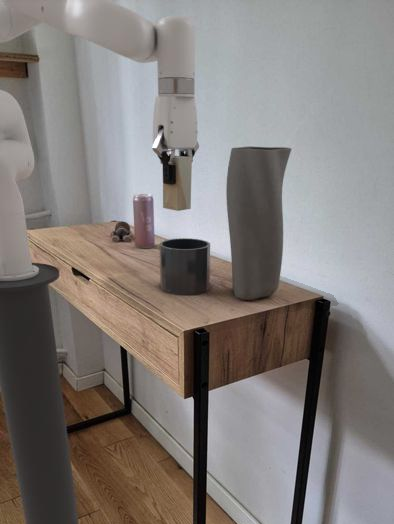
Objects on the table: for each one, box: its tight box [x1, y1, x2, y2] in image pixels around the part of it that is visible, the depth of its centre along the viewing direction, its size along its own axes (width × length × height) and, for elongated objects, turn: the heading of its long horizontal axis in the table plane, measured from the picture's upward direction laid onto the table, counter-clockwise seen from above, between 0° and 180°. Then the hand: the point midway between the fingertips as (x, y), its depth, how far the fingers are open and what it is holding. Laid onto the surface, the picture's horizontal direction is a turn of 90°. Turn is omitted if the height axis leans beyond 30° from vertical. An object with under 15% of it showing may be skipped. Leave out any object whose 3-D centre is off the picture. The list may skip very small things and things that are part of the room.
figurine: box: [108, 221, 135, 243], centre depth 156 cm, size 8×5×10 cm
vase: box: [225, 146, 292, 301], centre depth 100 cm, size 12×12×30 cm
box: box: [162, 155, 193, 212], centre depth 107 cm, size 5×4×11 cm
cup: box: [158, 237, 211, 296], centre depth 109 cm, size 11×11×10 cm
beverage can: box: [132, 193, 156, 249], centre depth 144 cm, size 6×6×15 cm
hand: (177, 182), depth 107 cm, fingers closed on box, 4 cm apart
